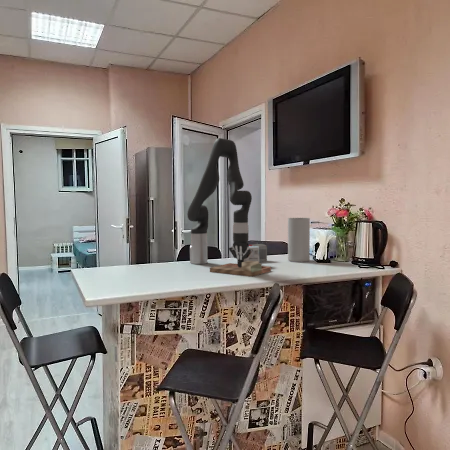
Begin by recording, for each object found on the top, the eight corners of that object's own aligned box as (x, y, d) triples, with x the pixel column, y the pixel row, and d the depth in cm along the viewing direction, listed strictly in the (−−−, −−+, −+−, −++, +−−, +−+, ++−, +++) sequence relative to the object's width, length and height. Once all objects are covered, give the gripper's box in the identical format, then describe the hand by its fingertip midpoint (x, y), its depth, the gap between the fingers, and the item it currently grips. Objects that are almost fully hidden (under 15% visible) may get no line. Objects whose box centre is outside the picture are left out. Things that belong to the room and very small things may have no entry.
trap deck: (209, 271, 200) (209, 261, 200) (229, 266, 215) (229, 257, 214) (252, 276, 186) (252, 265, 186) (270, 270, 201) (270, 261, 200)
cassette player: (242, 263, 229) (242, 245, 228) (240, 262, 231) (240, 245, 230) (266, 261, 235) (266, 244, 234) (264, 260, 237) (264, 243, 237)
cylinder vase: (313, 260, 235) (313, 218, 233) (302, 263, 225) (302, 218, 224) (295, 258, 243) (295, 217, 241) (283, 261, 233) (283, 218, 232)
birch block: (241, 270, 191) (241, 262, 191) (248, 268, 196) (248, 260, 196) (252, 271, 188) (252, 263, 187) (258, 269, 193) (258, 261, 192)
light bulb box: (259, 265, 220) (259, 245, 219) (259, 267, 213) (259, 247, 213) (240, 265, 221) (239, 245, 220) (239, 267, 214) (239, 247, 214)
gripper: (225, 231, 194) (225, 266, 195) (248, 233, 186) (248, 269, 188) (233, 230, 200) (233, 264, 201) (256, 231, 192) (256, 267, 194)
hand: (240, 267), depth 194 cm, fingers closed
